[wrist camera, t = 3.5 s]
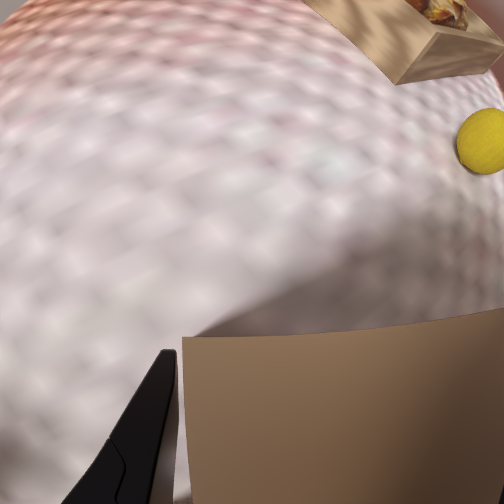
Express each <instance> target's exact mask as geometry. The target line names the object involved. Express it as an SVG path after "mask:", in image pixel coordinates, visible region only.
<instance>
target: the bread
mask: <svg viewBox="0 0 504 504" xmlns="http://www.w3.org/2000/svg"><path fill="white" fill-rule="evenodd" d="M405 1H406V2H407V3H408V4H410V5H411V6H412V7H413V8H414V9H416V10H417V11H418V12H419V13H420V14H422V15H423V16H424V17H425V18H426V19H427V20H429V21H430V22H431V23H432V24H435V25H440V26H445V27H450V28H454V29H459V30H463V31H466V30H467V27H468V16H467V6H466V3H465V0H405Z"/></svg>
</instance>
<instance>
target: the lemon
mask: <svg viewBox="0 0 504 504" xmlns="http://www.w3.org/2000/svg"><path fill="white" fill-rule="evenodd" d="M457 150H458V153H459V156H460V162H461V163H462V164H463V165H466V166H467V167H468V168H469V169H471V170H472V171H474V172H476V173H479V174H485V175H488V174H493V173H496V172H498V171H500V170H502V169H504V112H503V111H501V110H499V109H496V108H486V109H482V110H479V111H477V112H475V113H474V114H472V115H471V116H469V117H468V118H467V119H466V120H465V122H464V123H463V124H462V126H461V127H460V129H459V131H458V135H457Z"/></svg>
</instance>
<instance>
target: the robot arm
mask: <svg viewBox="0 0 504 504" xmlns="http://www.w3.org/2000/svg"><path fill="white" fill-rule="evenodd" d="M178 425H179V402H178V366H177V353H176V350H174V349H163V350H161V351H160V353H159V355H158V356H157V358H156V359H155V361H154V363H153V364H152V366H151V367H150V369H149V371H148V372H147V374H146V376H145V377H144V379H143V381H142V382H141V384H140V385H139V387H138V389H137V390H136V392H135V394H134V395H133V397H132V399H131V400H130V402H129V404H128V405H127V407H126V409H125V410H124V412H123V414H122V415H121V417H120V419H119V420H118V422H117V424H116V425H115V427H114V429H113V430H112V432H111V434H110V435H109V438H108V439H107V440H106V442H105V444H104V445H103V447H102V449H101V450H100V452H99V454H98V455H97V457H96V458H95V460H94V461H93V463H92V464H91V466H90V467H89V468H88V470H87V471H86V472H85V474H84V475H83V476H82V478H81V479H80V480H79V481H78V483H77V484H76V485H75V486H74V488H73V489H72V490H71V491H70V493H69V494H68V495H67V496H66V498H65V499H64V500H63V501H62V503H61V504H173V487H174V473H175V459H176V447H177V436H178ZM498 504H504V486H503V489H502V493H501V496H500V500H499V503H498Z"/></svg>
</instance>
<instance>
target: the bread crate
mask: <svg viewBox="0 0 504 504" xmlns="http://www.w3.org/2000/svg"><path fill="white" fill-rule="evenodd" d="M301 1H303V2H304V3H305V4H307V5H308V6H309V7H311V8H312V9H313V10H315V11H316V12H317V13H318V14H320V15H321V16H322V17H323V18H325V19H326V20H327V21H328V22H330V23H331V24H332V25H333V26H334V27H336V28H337V29H338V30H339V31H340V32H341V33H342V34H344V35H345V36H346V37H347V38H348V39H349V40H350V41H351V42H353V43H354V44H355V45H356V46H357V47H358V48H359V49H360V50H361V51H362V52H363V53H364V54H365V55H366V56H367V57H368V58H369V59H370V60H371V61H372V62H373V63H374V64H375V65H376V66H377V67H378V68H379V69H380V70H381V71H382V72H383V73H384V74H385V75H386V76H387V77H388V78H389V79H390V80H391V81H392V82H393V84H394V85H399V84H404V83H410V82H416V81H423V80H429V79H437V78H444V77H453V76H462V75H472V74H484V73H485V72H486V71H487V70H488V69H489V68H490V67H491V66H492V64H494V63H495V62H496V61H497V59H498V58H499V57H500V56H501V55H502V54H503V53H504V42H503V41H502V40H501V39H500V38H499V37H498V36H497V35H496V34H495V33H494V32H493V30H492V29H491V28H490V27H489V26H488V25H487V24H486V23H485V22H484V21H483V20H482V19H480V18H479V17H478V16H477V15H476V14H475V13H474V12H473V11H472V10H471V9H470V8H468V7H467V16H468V27H467V30H466V31H463V30H459V29H454V28H450V27H445V26H440V25H435V24H432V23H431V22H430V21H429V20H427V19H426V18H425V17H424V16H423V15H422V14H420V13H419V12H418V11H417V10H416V9H414V8H413V7H412V6H411V5H410V4H408V3H407V2H406V1H405V0H301Z"/></svg>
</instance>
